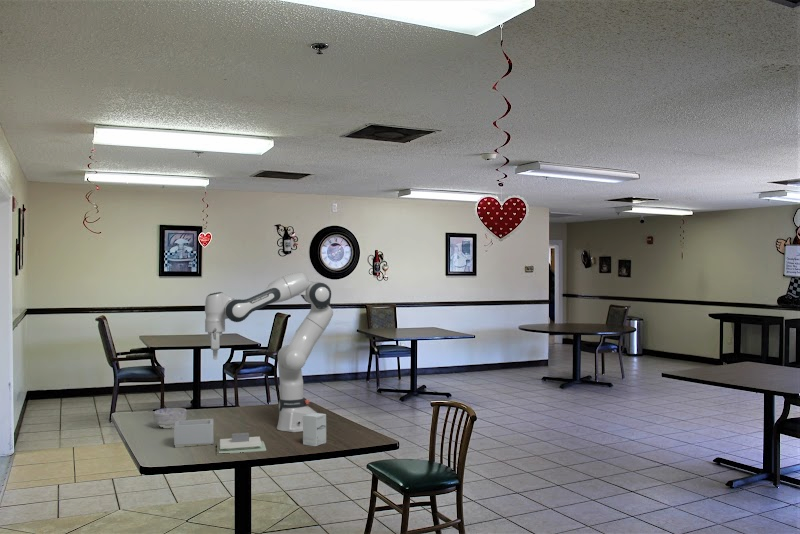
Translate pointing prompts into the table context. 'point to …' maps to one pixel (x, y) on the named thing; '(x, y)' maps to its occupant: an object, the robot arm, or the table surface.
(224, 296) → the robot arm
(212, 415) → the table surface
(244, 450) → the mat
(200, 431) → the storage box
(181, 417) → the paper bowls
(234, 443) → the lid
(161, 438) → the table surface
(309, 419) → the supplement box
